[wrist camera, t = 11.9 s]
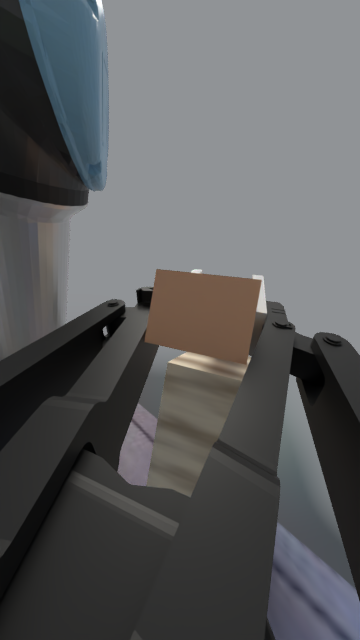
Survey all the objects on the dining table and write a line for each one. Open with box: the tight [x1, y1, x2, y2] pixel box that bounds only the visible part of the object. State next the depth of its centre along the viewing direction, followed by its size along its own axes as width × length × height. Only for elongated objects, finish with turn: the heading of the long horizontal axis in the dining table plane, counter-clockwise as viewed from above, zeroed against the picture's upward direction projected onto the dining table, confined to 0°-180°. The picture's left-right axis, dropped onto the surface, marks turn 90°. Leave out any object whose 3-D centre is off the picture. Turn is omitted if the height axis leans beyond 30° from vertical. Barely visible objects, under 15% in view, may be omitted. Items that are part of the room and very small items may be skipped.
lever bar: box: [144, 269, 262, 365], centre depth 22 cm, size 30×4×3 cm, turn 163°
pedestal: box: [146, 352, 251, 497], centre depth 29 cm, size 18×10×30 cm, turn 163°
